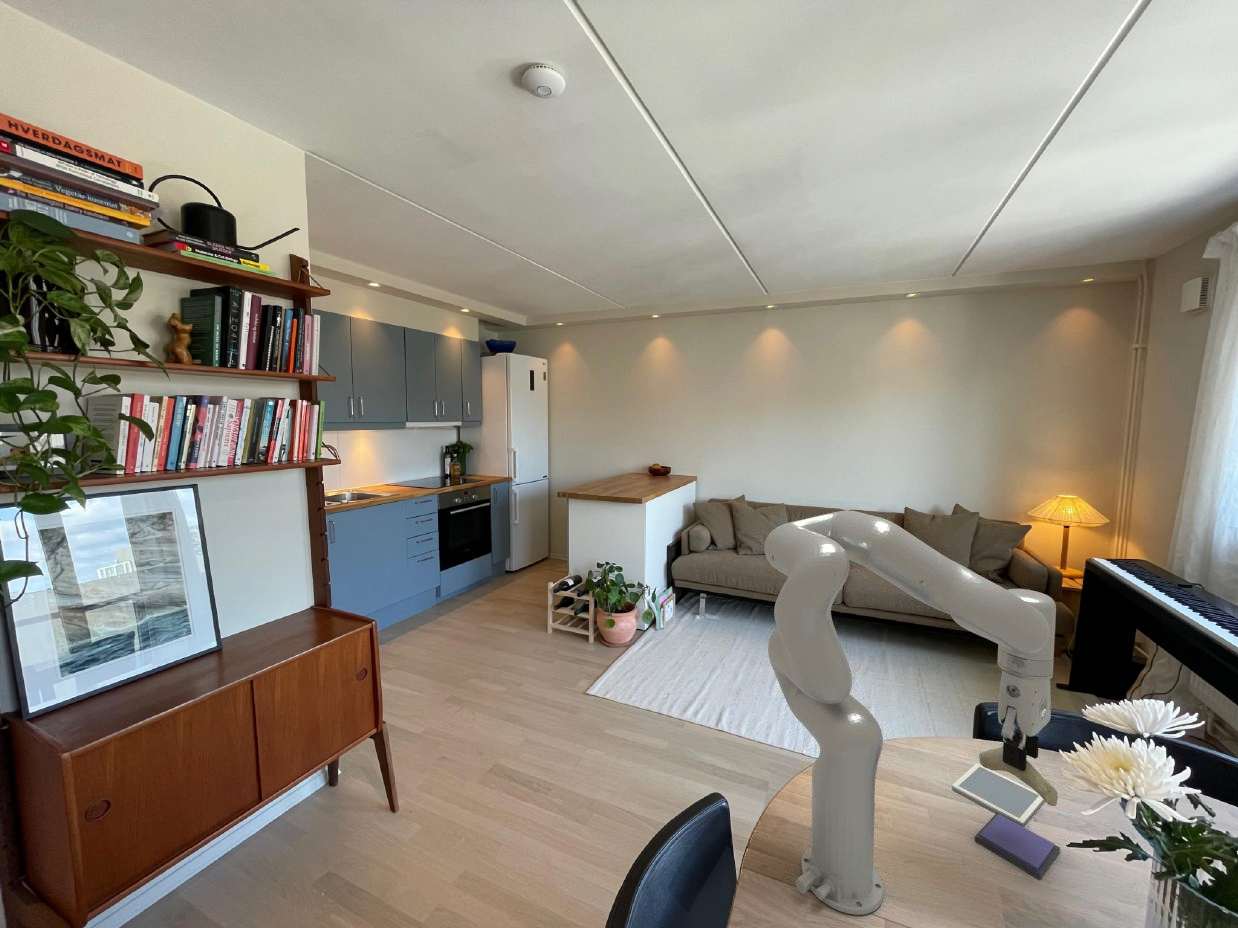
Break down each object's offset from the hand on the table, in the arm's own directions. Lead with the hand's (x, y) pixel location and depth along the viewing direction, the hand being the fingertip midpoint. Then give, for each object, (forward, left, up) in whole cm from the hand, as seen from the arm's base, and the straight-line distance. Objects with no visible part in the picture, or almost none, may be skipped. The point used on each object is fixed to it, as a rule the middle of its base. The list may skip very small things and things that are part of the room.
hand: (1020, 758), depth 88 cm
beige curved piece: (-2, -1, -4) cm, 4 cm away
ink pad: (0, 0, -17) cm, 17 cm away
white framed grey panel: (+12, +7, -17) cm, 22 cm away
